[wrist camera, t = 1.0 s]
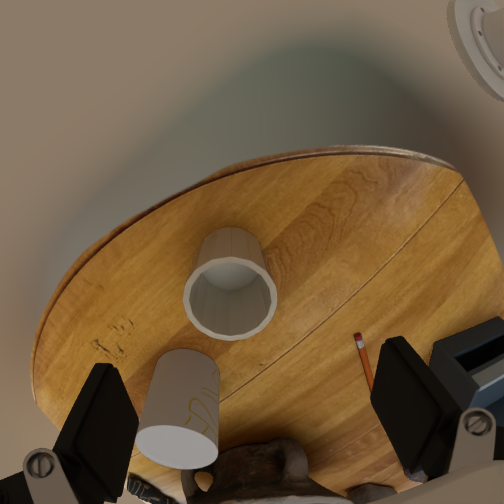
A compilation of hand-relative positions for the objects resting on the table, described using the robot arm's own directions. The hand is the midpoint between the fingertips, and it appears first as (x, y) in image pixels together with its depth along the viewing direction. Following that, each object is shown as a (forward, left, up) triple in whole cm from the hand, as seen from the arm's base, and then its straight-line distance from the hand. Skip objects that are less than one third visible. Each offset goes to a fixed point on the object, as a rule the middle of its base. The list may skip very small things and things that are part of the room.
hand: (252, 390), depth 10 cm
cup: (+9, +17, -22) cm, 29 cm away
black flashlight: (+26, +55, -22) cm, 65 cm away
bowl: (+3, +40, -22) cm, 46 cm away
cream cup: (+1, +3, -22) cm, 22 cm away
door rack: (-33, +26, -22) cm, 47 cm away
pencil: (-15, +24, -22) cm, 36 cm away
